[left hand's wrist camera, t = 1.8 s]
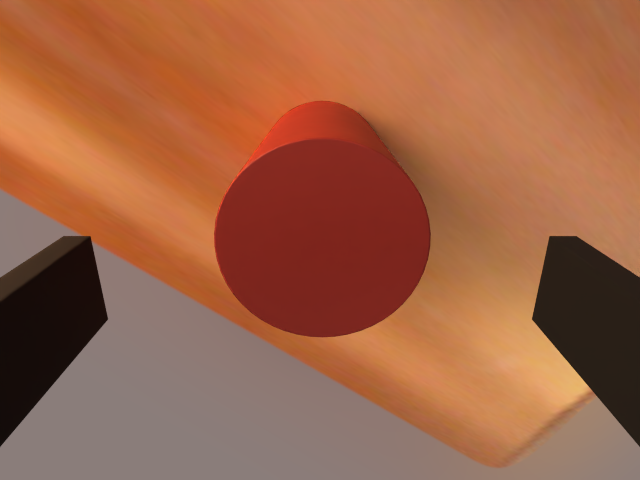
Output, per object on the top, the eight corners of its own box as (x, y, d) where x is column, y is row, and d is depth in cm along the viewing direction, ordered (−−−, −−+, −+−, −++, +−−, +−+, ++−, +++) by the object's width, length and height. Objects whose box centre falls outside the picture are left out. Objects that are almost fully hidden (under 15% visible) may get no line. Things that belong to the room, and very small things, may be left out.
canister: (247, 192, 27) (188, 298, 15) (288, 80, 24) (255, 99, 12) (351, 232, 28) (374, 362, 16) (400, 129, 25) (471, 190, 13)
